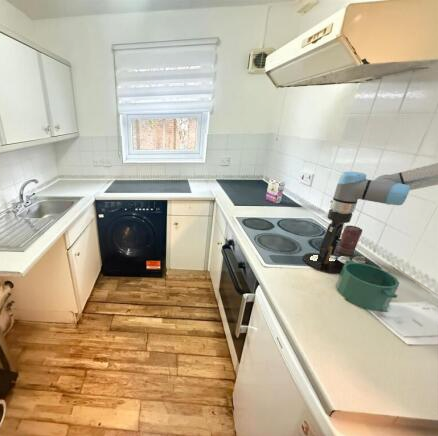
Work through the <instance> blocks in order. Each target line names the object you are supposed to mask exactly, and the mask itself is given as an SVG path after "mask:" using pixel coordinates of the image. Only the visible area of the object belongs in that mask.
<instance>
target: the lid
mask: <svg viewBox="0 0 438 436" xmlns="http://www.w3.org/2000/svg"><path fill="white" fill-rule="evenodd" d="M332 249H333V247H332V246H330V248H329V252H328V255H327V258H326V261H325V264H322V263H320V262H317V261H313V260H310V257H311V256H313V255H318V256H319V253H317V252H309V253H304V255H302V261H303V262H304V263H305V265H307V266H309V267H310V268H312V269H314V270H316V271H319V272H322V273H325V274H332V275H340V274H341V271H342V268H343V266H344V265H345V263H343V262H342V261H341V260H338V259H336V258H335V259H336V260H335V261H329V258H330V257H331V255H332V254H331V252H332Z"/></svg>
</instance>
